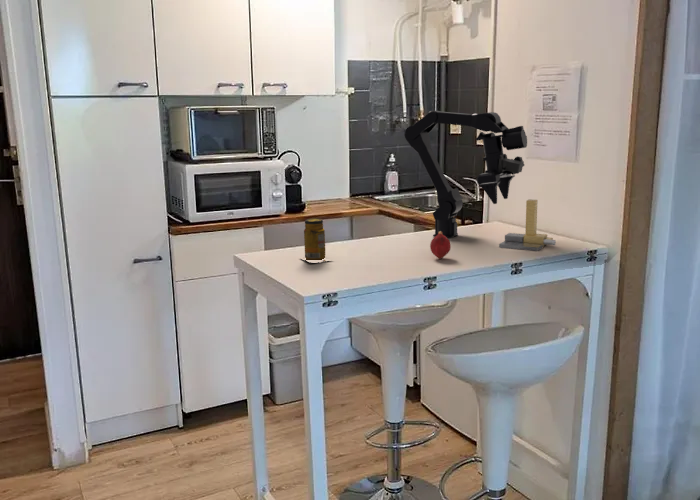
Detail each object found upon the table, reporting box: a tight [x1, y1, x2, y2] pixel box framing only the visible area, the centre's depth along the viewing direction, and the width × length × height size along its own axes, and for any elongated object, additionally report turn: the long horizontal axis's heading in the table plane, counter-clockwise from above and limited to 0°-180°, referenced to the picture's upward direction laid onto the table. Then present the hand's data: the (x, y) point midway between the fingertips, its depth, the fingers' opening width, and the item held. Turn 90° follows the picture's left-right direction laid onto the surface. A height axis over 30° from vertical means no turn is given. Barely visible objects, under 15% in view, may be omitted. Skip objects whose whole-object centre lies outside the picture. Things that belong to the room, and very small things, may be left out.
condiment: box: [303, 218, 326, 260], centre depth 193 cm, size 7×8×12 cm
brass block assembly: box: [523, 199, 554, 249], centre depth 207 cm, size 12×11×14 cm
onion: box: [429, 231, 452, 260], centre depth 190 cm, size 6×6×8 cm
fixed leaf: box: [498, 232, 556, 252], centre depth 202 cm, size 15×9×3 cm, turn 58°
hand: (500, 201), depth 211 cm, fingers open, 9 cm apart
